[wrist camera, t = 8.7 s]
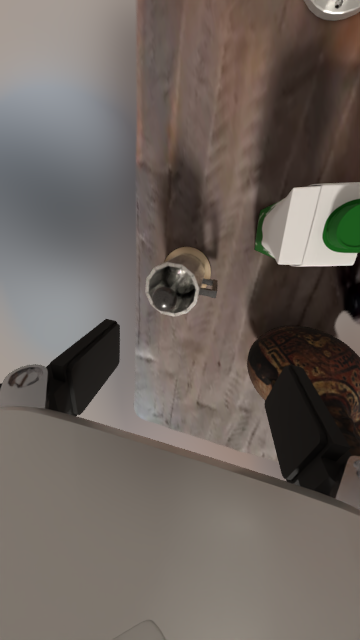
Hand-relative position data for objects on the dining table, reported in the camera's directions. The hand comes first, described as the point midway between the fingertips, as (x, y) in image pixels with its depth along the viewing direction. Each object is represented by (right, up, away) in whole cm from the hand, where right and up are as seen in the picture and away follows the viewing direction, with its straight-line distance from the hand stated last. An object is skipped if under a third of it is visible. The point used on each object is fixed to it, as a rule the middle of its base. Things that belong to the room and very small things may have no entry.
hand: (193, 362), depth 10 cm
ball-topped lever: (0, +11, +27) cm, 29 cm away
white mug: (+2, +13, +31) cm, 33 cm away
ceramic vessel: (+25, -4, +35) cm, 43 cm away
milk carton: (+18, +20, +25) cm, 36 cm away
